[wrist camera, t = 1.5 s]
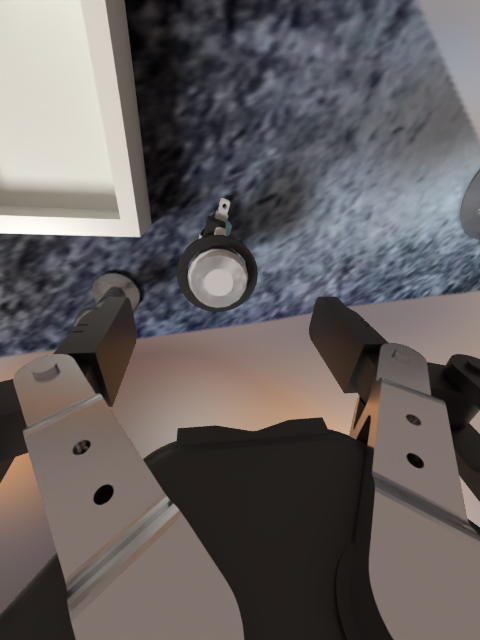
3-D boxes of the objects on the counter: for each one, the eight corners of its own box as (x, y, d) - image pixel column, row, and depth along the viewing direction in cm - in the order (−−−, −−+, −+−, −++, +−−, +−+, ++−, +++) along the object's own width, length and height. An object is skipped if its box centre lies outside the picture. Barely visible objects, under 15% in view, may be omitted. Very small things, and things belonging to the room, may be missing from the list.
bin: (121, -25, 15) (91, -94, 11) (151, 224, 23) (140, 237, 19) (-164, -71, 13) (-327, -174, 9) (-28, 218, 21) (-84, 230, 17)
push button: (196, 187, 22) (191, 202, 13) (253, 208, 23) (281, 233, 15) (180, 259, 25) (168, 309, 16) (231, 274, 26) (244, 325, 18)
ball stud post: (136, 272, 25) (113, 310, 18) (143, 310, 27) (124, 356, 21) (89, 271, 24) (47, 310, 18) (100, 310, 27) (66, 358, 20)
